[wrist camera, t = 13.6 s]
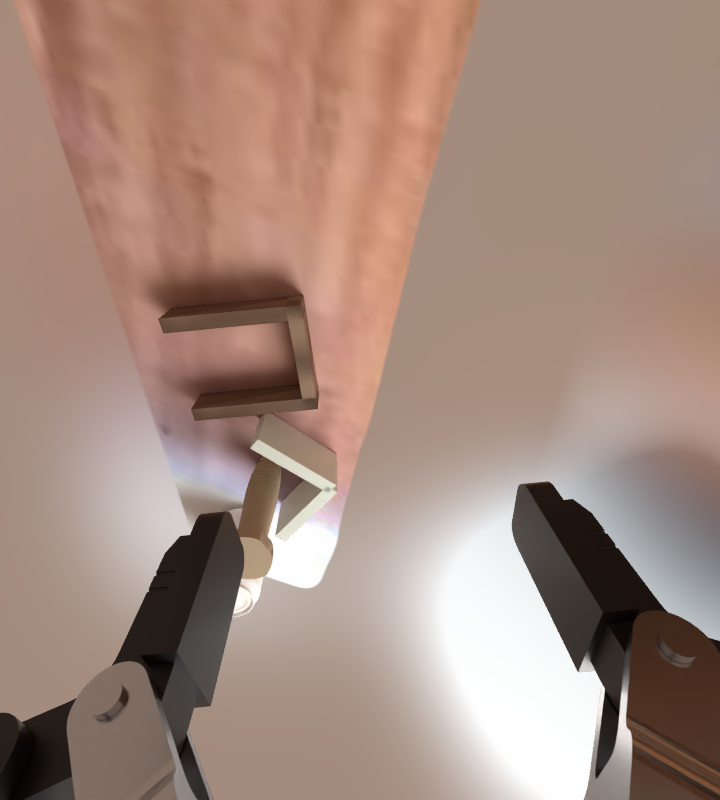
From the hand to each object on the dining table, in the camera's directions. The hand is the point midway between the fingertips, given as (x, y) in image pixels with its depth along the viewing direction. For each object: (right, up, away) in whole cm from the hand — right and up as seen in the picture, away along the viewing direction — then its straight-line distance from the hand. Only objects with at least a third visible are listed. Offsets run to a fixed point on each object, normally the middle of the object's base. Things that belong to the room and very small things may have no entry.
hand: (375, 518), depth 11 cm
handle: (-13, -5, +41) cm, 43 cm away
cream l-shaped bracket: (-8, -5, +41) cm, 42 cm away
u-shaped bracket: (-13, +9, +33) cm, 36 cm away
